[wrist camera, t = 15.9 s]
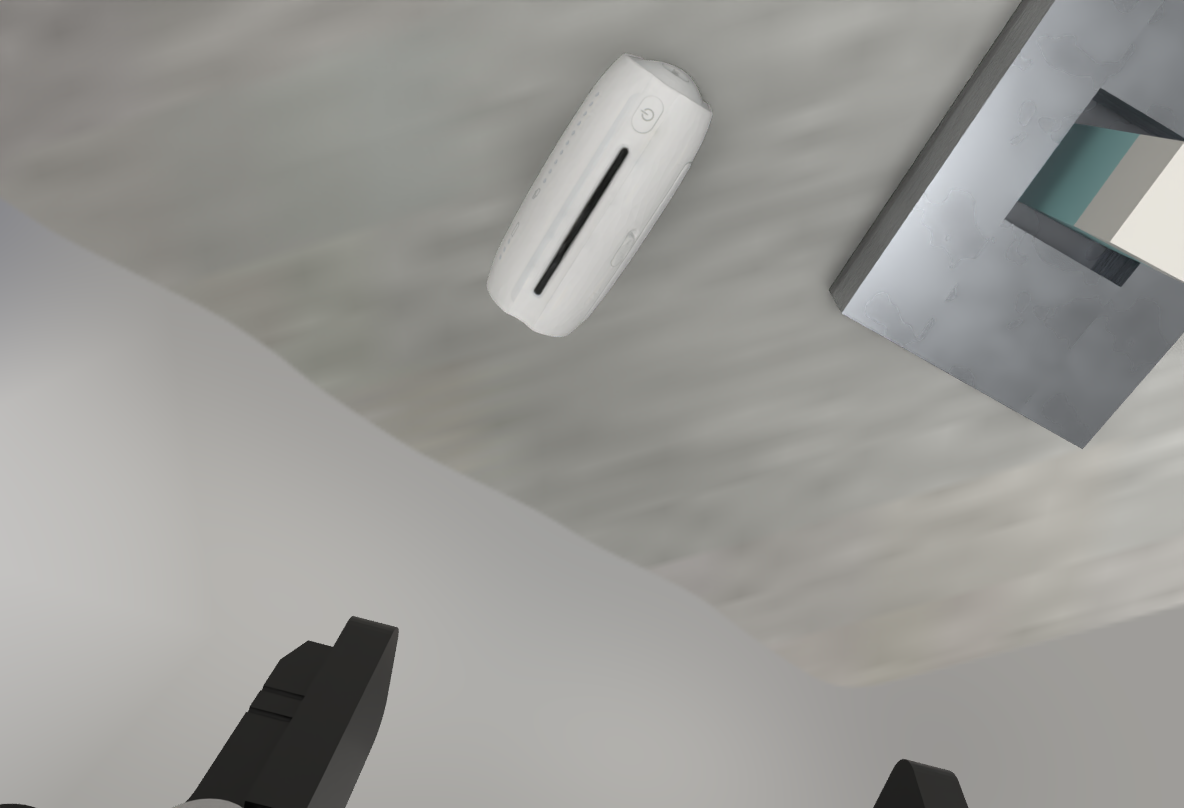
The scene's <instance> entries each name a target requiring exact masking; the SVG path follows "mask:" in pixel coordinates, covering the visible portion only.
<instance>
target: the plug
mask: <svg viewBox="0 0 1184 808" xmlns="http://www.w3.org/2000/svg"><path fill="white" fill-rule="evenodd" d="M1018 201H1019V202H1021V203H1023V204H1024V205H1026V206H1028V207H1030V208H1032V209H1034V210H1036V211H1038V212H1039V213H1041V214H1043V215H1045V216H1047V217H1049V218H1051V219H1052V220H1054V221H1056V222H1058V223H1060V224H1062V225H1064V226H1065V227H1067V228H1069V229H1071V230H1073V231H1075V232H1077V233H1078V234H1080V235H1082V236H1084V237H1086V238H1088V239H1090V240H1092V241H1094V242H1096V243H1098V244H1101V245H1103V246H1105V247H1107V248H1109V249H1111V250H1113V251H1116V252H1118V253H1120V254H1122V255H1124V256H1126V257H1129V258H1131V259H1133V260H1135V261H1137V262H1139V263H1142V264H1144V265H1146V266H1148V267H1150V268H1152V269H1155V270H1157V271H1159V272H1161V273H1163V274H1165V275H1168V276H1170V277H1172V278H1174V279H1176V280H1178V281H1180V282H1183V283H1184V141H1178V140H1172V139H1166V138H1160V137H1154V136H1148V135H1142V134H1136V133H1130V132H1124V131H1118V130H1112V129H1106V128H1100V127H1094V126H1088V125H1082V124H1076V123H1074V124H1073V126H1072V127H1071V128H1070V130H1069V131H1068V133H1067V134H1066V135H1065V137H1064V138H1063V139H1062V141H1061V142H1060V144H1059V145H1058V146H1057V148H1056V149H1055V150H1054V152H1053V153H1052V154H1051V156H1050V157H1049V159H1048V160H1047V161H1046V163H1045V164H1044V165H1043V167H1042V168H1041V170H1040V171H1039V172H1038V174H1037V175H1036V176H1035V178H1034V179H1033V180H1032V182H1031V183H1030V185H1029V186H1028V187H1027V189H1026V190H1025V191H1024V193H1023V194H1022V195H1021V197H1020V198H1019V200H1018Z"/></svg>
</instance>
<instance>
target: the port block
mask: <svg viewBox="0 0 1184 808" xmlns="http://www.w3.org/2000/svg"><path fill="white" fill-rule="evenodd" d="M1074 123H1076V124H1082V125H1088V126H1094V127H1100V128H1106V129H1112V130H1118V131H1124V132H1130V133H1136V134H1142V135H1148V136H1154V137H1160V138H1166V139H1172V140H1178V141H1184V0H1022V2H1021V3H1020V5H1019V6H1018V8H1017V9H1016V11H1015V12H1014V14H1013V15H1012V17H1011V18H1010V20H1009V21H1008V23H1007V24H1006V26H1005V27H1004V29H1003V30H1002V32H1001V33H1000V35H999V36H998V38H997V39H996V41H995V42H994V44H993V45H992V47H991V48H990V50H989V51H988V53H987V54H986V56H985V57H984V59H983V60H982V62H981V63H980V65H979V66H978V68H977V69H976V71H975V72H974V74H973V75H972V77H971V78H970V80H969V81H968V83H967V84H966V86H965V87H964V89H963V90H962V92H961V93H960V95H959V96H958V98H957V99H956V101H955V102H954V104H953V105H952V107H951V108H950V110H949V111H948V113H947V114H946V116H945V117H944V118H943V120H942V121H941V123H940V124H939V126H938V127H937V129H936V130H935V132H934V133H933V135H932V136H931V138H930V139H929V141H928V142H927V144H926V145H925V147H924V148H923V150H922V151H921V153H920V154H919V156H918V157H917V159H916V160H915V162H914V163H913V165H912V166H911V168H910V169H909V171H908V172H907V174H906V175H905V177H904V178H903V180H902V181H901V183H900V184H899V186H898V187H897V189H896V190H895V192H894V193H893V195H892V196H891V198H890V199H889V201H888V202H887V204H886V205H885V207H884V208H883V210H882V211H881V213H880V214H879V216H878V217H877V219H876V220H875V222H874V223H873V225H872V226H871V228H870V229H869V231H868V232H867V234H866V235H865V237H864V238H863V240H862V241H861V243H860V244H859V246H858V247H857V249H856V250H855V252H854V253H853V255H852V256H851V258H850V259H849V261H848V262H847V264H846V265H845V267H844V268H843V270H842V271H841V273H840V274H839V276H838V277H837V279H836V280H835V282H834V283H833V285H832V286H831V288H830V289H829V291H830V293H831V295H832V296H833V298H834V300H835V302H836V304H837V306H838V307H839V309H840V311H841V313H842V314H844V315H846V316H847V317H849V318H851V319H853V320H855V321H856V322H858V323H860V324H862V325H863V326H865V327H867V328H869V329H870V330H872V331H874V332H876V333H878V334H879V335H881V336H883V337H885V338H886V339H888V340H890V341H892V342H894V343H895V344H897V345H899V346H901V347H902V348H904V349H906V350H908V351H909V352H911V353H913V354H915V355H917V356H918V357H920V358H922V359H924V360H925V361H927V362H929V363H931V364H933V365H934V366H936V367H938V368H940V369H941V370H943V371H945V372H947V373H948V374H950V375H952V376H954V377H956V378H957V379H959V380H961V381H963V382H964V383H966V384H968V385H970V386H972V387H973V388H975V389H977V390H979V391H980V392H982V393H984V394H986V395H987V396H989V397H991V398H993V399H995V400H996V401H998V402H1000V403H1002V404H1003V405H1005V406H1007V407H1009V408H1011V409H1012V410H1014V411H1016V412H1018V413H1019V414H1021V415H1023V416H1025V417H1027V418H1028V419H1030V420H1032V421H1034V422H1035V423H1037V424H1039V425H1041V426H1042V427H1044V428H1046V429H1048V430H1050V431H1051V432H1053V433H1055V434H1057V435H1058V436H1060V437H1062V438H1064V439H1066V440H1067V441H1069V442H1071V443H1073V444H1074V445H1076V446H1078V447H1080V448H1081V449H1083V448H1084V447H1085V446H1086V444H1087V443H1088V442H1089V441H1090V440H1091V439H1092V438H1093V436H1094V435H1095V434H1096V433H1097V432H1098V431H1099V430H1100V428H1101V427H1102V426H1103V425H1104V424H1105V423H1106V421H1107V420H1108V419H1109V418H1110V417H1111V416H1112V415H1113V413H1114V412H1115V411H1116V410H1117V409H1118V408H1119V406H1120V405H1121V404H1122V403H1123V402H1124V401H1125V400H1126V398H1127V397H1128V396H1129V395H1130V394H1131V393H1132V392H1133V390H1134V389H1135V388H1136V387H1137V386H1138V385H1139V383H1140V382H1141V381H1142V380H1143V379H1144V378H1145V377H1146V375H1147V374H1148V373H1149V372H1150V371H1151V370H1152V368H1153V367H1154V366H1155V365H1156V364H1157V363H1158V362H1159V360H1160V359H1161V358H1162V357H1163V356H1164V355H1165V354H1166V352H1167V351H1168V350H1169V349H1170V348H1171V347H1172V345H1173V344H1174V343H1175V342H1176V341H1177V340H1178V339H1179V337H1180V336H1181V335H1182V334H1183V333H1184V283H1183V282H1180V281H1178V280H1176V279H1174V278H1172V277H1170V276H1168V275H1165V274H1163V273H1161V272H1159V271H1157V270H1155V269H1152V268H1150V267H1148V266H1146V265H1144V264H1142V263H1139V262H1137V261H1135V260H1133V259H1131V258H1129V257H1126V256H1124V255H1122V254H1120V253H1118V252H1116V251H1113V250H1111V249H1109V248H1107V247H1105V246H1103V245H1101V244H1098V243H1096V242H1094V241H1092V240H1090V239H1088V238H1086V237H1084V236H1082V235H1080V234H1078V233H1077V232H1075V231H1073V230H1071V229H1069V228H1067V227H1065V226H1064V225H1062V224H1060V223H1058V222H1056V221H1054V220H1052V219H1051V218H1049V217H1047V216H1045V215H1043V214H1041V213H1039V212H1038V211H1036V210H1034V209H1032V208H1030V207H1028V206H1026V205H1024V204H1023V203H1021V202H1019V201H1018V200H1019V198H1020V197H1021V195H1022V194H1023V193H1024V191H1025V190H1026V189H1027V187H1028V186H1029V185H1030V183H1031V182H1032V180H1033V179H1034V178H1035V176H1036V175H1037V174H1038V172H1039V171H1040V170H1041V168H1042V167H1043V165H1044V164H1045V163H1046V161H1047V160H1048V159H1049V157H1050V156H1051V154H1052V153H1053V152H1054V150H1055V149H1056V148H1057V146H1058V145H1059V144H1060V142H1061V141H1062V139H1063V138H1064V137H1065V135H1066V134H1067V133H1068V131H1069V130H1070V128H1071V127H1072V126H1073V124H1074Z"/></svg>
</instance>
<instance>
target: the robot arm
mask: <svg viewBox="0 0 1184 808" xmlns="http://www.w3.org/2000/svg"><path fill="white" fill-rule="evenodd" d="M398 633H399V631H398V628H397V627H394V626H390V625H386V624H382V623H378V622H374V621H370V620H367V619H362V618H359V617H355V616H352V617H351V618H350V619H349V621H348V622H347V624H346V626H345V628H344V629H343V631H342V632H341V634H340V636H339V638H338V639H337V641H336V643H335V645H334V646H333V647H331V646H327V645H324V644H319V643H316V642H312V641H307V642H305V643H304V644H302V645H301V646H300V647H298V648H297V649H295V650H294V651H292V652H291V653H289V654H288V655H286V656H285V657H283V658H282V659H280V661H279V662H278V664H277V665H276V667H275V669H274V670H273V672H272V673H271V675H270V676H269V678H268V679H267V681H266V683H265V684H264V686H263V689H262V691H260V692H259V693H258V695H257V696H256V698H255V700H254V701H253V702H252V704H251V706H250V708H249V711H248V712H246V713H245V715H244V716H243V718H242V719H241V721H240V722H239V724H238V726H237V727H236V729H235V730H234V732H233V733H232V735H231V736H230V738H229V739H228V741H227V742H226V744H225V746H224V747H223V749H222V750H221V752H220V753H219V755H218V756H217V758H216V759H215V761H214V762H213V764H212V766H211V767H210V769H209V770H208V772H207V773H206V775H205V776H204V778H203V779H202V781H201V782H200V784H199V786H198V787H197V789H196V790H195V791H194V793H193V794H192V796H191V797H190V798H189V799H188V800H187V801H186V802H185V803H183V804H180V805H177V806H175V807H173V808H345V807H346V804H347V802H348V800H349V798H350V795H351V793H352V791H353V789H354V786H355V784H356V782H357V779H358V777H359V775H360V773H361V770H362V768H363V766H364V764H365V761H366V759H367V757H368V755H369V752H370V750H371V748H372V745H373V743H374V741H375V738H376V735H377V732H378V730H379V727H380V724H381V720H382V717H383V714H384V710H385V706H386V701H387V696H388V690H389V685H390V679H391V674H392V668H393V663H394V657H395V651H396V646H397V640H398ZM0 808H35V807H31V806H27V805H21V804H1V805H0ZM873 808H968V806H967V803H966V800H965V798H964V795H963V793H962V790H961V787H960V784H959V781H958V779H957V777H956V776H955V774H954V773H953V772H951V771H948V770H945V769H941V768H937V767H933V766H929V765H925V764H921V763H917V762H914V761H910V760H906V759H902V760H900V761H899V762H898V763H897V764H896V765H895V767H894V768H893V770H892V772H891V774H890V776H889V778H888V780H887V782H886V784H885V786H884V788H883V790H882V792H881V794H880V796H879V798H878V799H877V801H876V804H875V805H874V807H873Z"/></svg>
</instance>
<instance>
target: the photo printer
mask: <svg viewBox="0 0 1184 808" xmlns="http://www.w3.org/2000/svg"><path fill="white" fill-rule="evenodd" d="M712 115H713V113H712V110H711V106H710V104H708V103H706V102H704V101H703V100H702V98H701V95H700V92H699V89H698V87H697V86H696V84H695V82H694V81H693V79H692V78H691V77H690V76H689V75H688V74H687V73H686V72H684V71H683V70H682V69H680V68H678V67H676V66H674V65H671V64H668V63H665V62H661V61H655V60H645V59H644V58H642V57H640V56H635V55H631V54H627V53H623V54H622V55H621V56H620V57H619V58H618V59H617V60H616V61H615V62H614V63H613V64H612V65H611V66H610V67H609V68H608V69H607V70H606V72H605V73H604V74H603V75H602V77H601V78H600V79H599V80H598V81H597V83H596V84H595V86H594V87H593V88H592V90H591V91H590V93H589V94H588V96H587V97H586V99H585V100H584V102H583V103H582V105H581V106H580V108H579V109H578V111H577V112H576V114H575V116H574V117H573V119H572V120H571V122H570V123H569V125H568V127H567V128H566V130H565V131H564V133H563V134H562V136H561V138H560V139H559V141H558V143H557V144H556V146H555V147H554V149H553V151H552V152H551V154H550V156H549V157H548V159H547V161H546V162H545V164H544V166H543V168H542V169H541V171H540V173H539V174H538V176H537V178H536V179H535V181H534V183H533V185H532V186H531V188H530V190H529V192H528V193H527V195H526V197H525V199H524V201H523V202H522V204H521V206H520V208H519V210H518V211H517V213H516V215H515V217H514V219H513V221H512V223H511V225H510V226H509V228H508V230H507V232H506V234H505V236H504V238H503V240H502V242H501V244H500V246H499V248H498V250H497V252H496V255H495V257H494V260H493V262H492V265H491V269H490V272H489V276H488V281H487V289H488V292H489V294H490V296H491V298H492V299H493V300H494V302H495V303H496V304H497V305H498V306H499V307H500V308H501V309H502V310H503V311H504V312H505V313H507V314H509V315H511V316H514V317H516V318H517V319H519V320H521V321H522V322H523V323H525V324H526V325H527V326H528V327H529V328H530V329H531V330H533V331H535V332H537V333H541V334H544V335H548V336H552V337H565V336H567V335H569V334H570V333H571V332H572V331H574V330H575V329H576V328H577V327H578V326H579V325H580V324H581V323H582V322H584V321H585V320H586V319H587V318H588V317H589V316H590V315H591V314H592V312H593V311H594V310H595V308H596V307H597V306H598V304H599V303H600V302H601V300H602V299H603V298H604V297H605V295H606V294H607V293H608V292H609V290H610V289H611V287H612V286H613V284H614V283H615V282H616V280H617V279H618V277H619V276H620V275H621V273H622V272H623V270H624V269H625V267H626V266H627V265H628V263H629V262H630V260H631V259H632V257H633V256H634V255H635V253H636V252H637V250H638V249H639V247H640V246H641V244H642V242H643V241H644V239H645V238H646V237H647V235H648V234H649V232H650V231H651V229H652V227H653V226H654V224H655V223H656V221H657V220H658V218H659V217H660V215H661V214H662V212H663V210H664V209H665V207H666V206H667V204H668V203H669V201H670V199H671V198H672V196H673V195H674V193H675V191H676V190H677V188H678V187H679V185H680V183H681V182H682V180H683V178H684V176H685V175H686V173H687V171H688V170H689V169H690V167H691V163H692V161H693V159H694V157H695V155H696V154H697V152H698V150H699V148H700V146H701V144H702V142H703V140H704V137H705V135H706V133H707V130H708V128H709V125H710V122H711V119H712Z"/></svg>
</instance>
